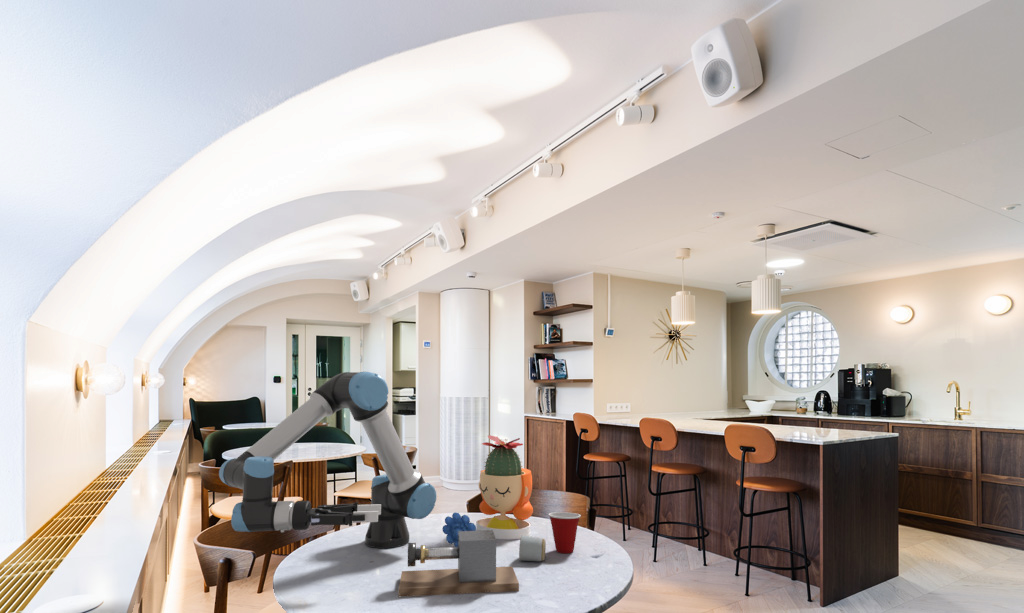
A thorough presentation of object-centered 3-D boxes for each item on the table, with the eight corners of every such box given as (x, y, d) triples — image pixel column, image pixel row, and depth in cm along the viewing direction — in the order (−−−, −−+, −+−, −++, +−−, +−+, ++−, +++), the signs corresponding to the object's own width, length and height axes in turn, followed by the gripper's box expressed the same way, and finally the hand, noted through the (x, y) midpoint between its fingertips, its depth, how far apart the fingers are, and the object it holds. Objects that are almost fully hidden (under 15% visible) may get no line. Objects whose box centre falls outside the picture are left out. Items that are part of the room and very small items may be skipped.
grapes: (440, 553, 191) (440, 515, 192) (443, 547, 198) (443, 510, 199) (475, 553, 191) (475, 515, 192) (477, 547, 197) (477, 510, 199)
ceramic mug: (544, 564, 179) (544, 539, 180) (518, 563, 181) (518, 538, 182) (546, 555, 189) (546, 531, 190) (522, 554, 191) (522, 530, 192)
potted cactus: (515, 542, 203) (515, 440, 207) (464, 533, 215) (465, 436, 219) (546, 528, 221) (545, 434, 225) (497, 520, 233) (497, 431, 237)
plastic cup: (584, 547, 197) (584, 511, 198) (577, 557, 187) (576, 518, 188) (553, 544, 200) (553, 508, 202) (544, 553, 190) (544, 515, 192)
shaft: (407, 569, 158) (407, 546, 159) (408, 562, 164) (408, 540, 165) (473, 566, 161) (473, 544, 161) (472, 559, 167) (472, 538, 167)
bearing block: (459, 583, 158) (459, 541, 159) (458, 571, 168) (458, 531, 169) (496, 581, 159) (496, 539, 160) (492, 569, 169) (492, 530, 170)
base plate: (398, 596, 154) (398, 588, 154) (401, 578, 167) (401, 571, 168) (518, 590, 158) (518, 583, 158) (512, 573, 171) (512, 566, 172)
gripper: (302, 520, 169) (382, 517, 172) (283, 540, 149) (375, 536, 151) (303, 493, 170) (383, 491, 172) (284, 509, 149) (375, 507, 152)
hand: (379, 512), depth 162 cm, fingers open, 8 cm apart
